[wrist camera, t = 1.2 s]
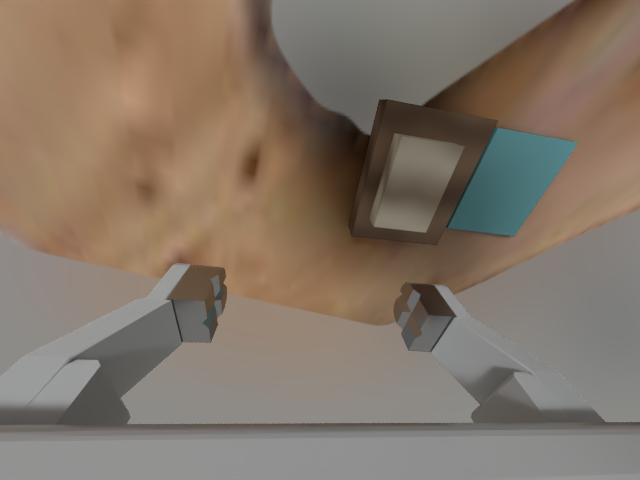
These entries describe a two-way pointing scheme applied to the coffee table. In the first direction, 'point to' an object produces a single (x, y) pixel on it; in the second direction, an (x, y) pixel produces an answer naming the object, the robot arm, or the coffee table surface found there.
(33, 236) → the coffee table surface
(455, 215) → the teal mat
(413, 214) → the birch tile
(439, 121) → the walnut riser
